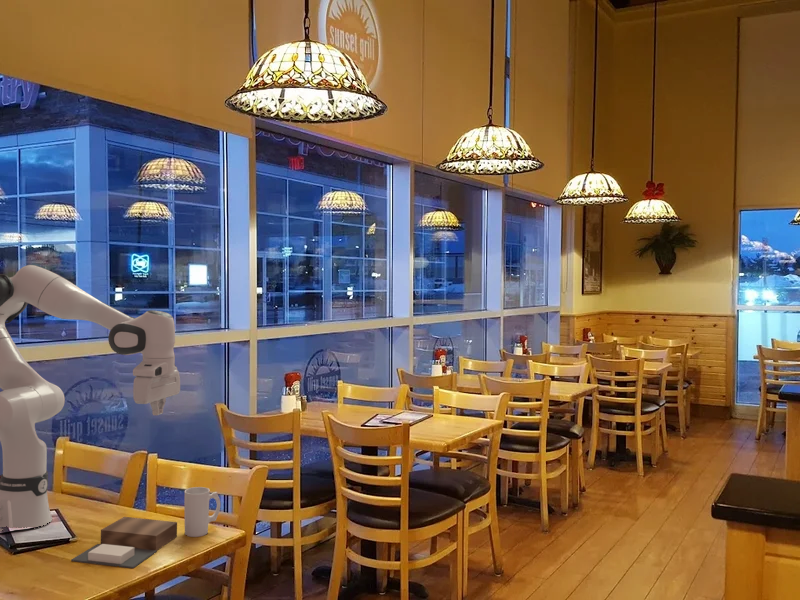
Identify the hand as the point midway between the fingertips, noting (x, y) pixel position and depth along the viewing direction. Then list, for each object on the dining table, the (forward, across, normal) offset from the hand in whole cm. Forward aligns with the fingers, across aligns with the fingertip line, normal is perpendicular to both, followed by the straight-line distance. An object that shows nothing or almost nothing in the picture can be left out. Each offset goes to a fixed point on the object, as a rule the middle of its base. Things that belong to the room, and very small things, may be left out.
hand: (157, 414), depth 213 cm
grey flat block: (+29, +29, +4) cm, 41 cm away
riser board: (+31, +15, +4) cm, 35 cm away
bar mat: (+31, +27, +4) cm, 41 cm away
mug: (+31, +5, +17) cm, 36 cm away
